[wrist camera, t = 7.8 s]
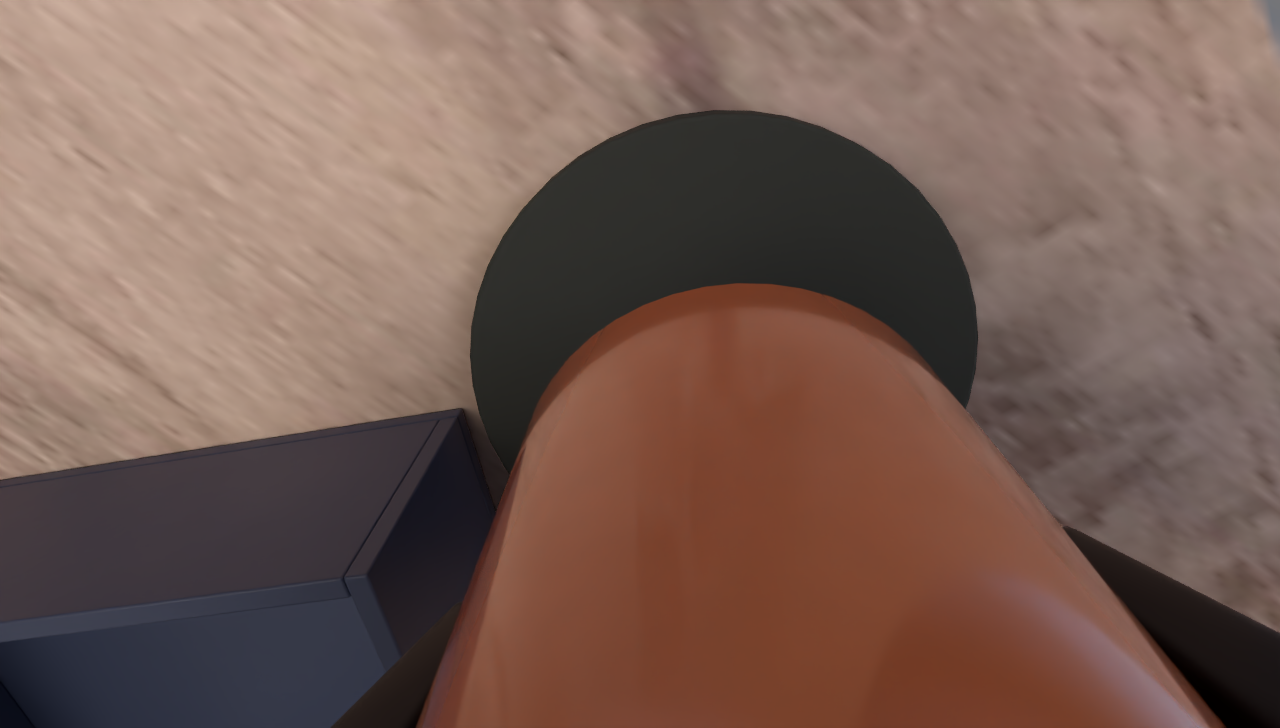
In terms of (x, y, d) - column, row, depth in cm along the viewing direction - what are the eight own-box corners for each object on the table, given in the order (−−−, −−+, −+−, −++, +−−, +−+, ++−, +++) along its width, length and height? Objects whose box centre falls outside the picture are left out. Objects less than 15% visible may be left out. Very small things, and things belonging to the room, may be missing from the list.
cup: (958, 242, 9) (1898, 869, 2) (963, 630, 12) (1400, 1491, 5) (468, 325, 10) (-18, 996, 3) (574, 673, 12) (453, 1474, 5)
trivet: (961, 58, 12) (980, 59, 12) (966, 525, 16) (979, 548, 16) (415, 165, 13) (401, 172, 13) (542, 579, 17) (537, 602, 17)
